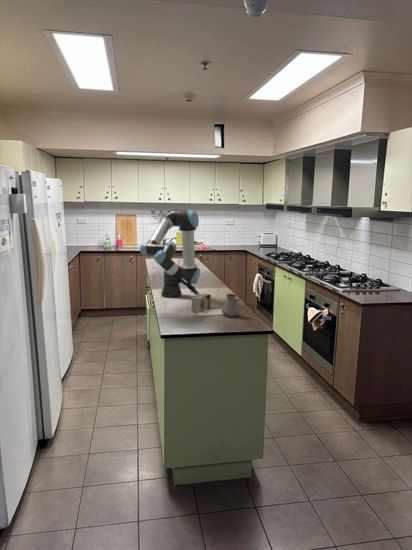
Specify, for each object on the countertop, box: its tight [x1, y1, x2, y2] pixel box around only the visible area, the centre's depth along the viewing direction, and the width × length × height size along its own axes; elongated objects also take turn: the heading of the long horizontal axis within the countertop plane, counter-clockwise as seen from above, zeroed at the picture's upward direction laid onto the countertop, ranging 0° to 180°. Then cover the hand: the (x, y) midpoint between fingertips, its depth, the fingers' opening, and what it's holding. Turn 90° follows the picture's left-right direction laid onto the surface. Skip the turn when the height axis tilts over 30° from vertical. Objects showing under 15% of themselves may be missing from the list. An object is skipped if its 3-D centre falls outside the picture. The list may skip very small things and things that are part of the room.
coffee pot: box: [221, 293, 241, 318], centre depth 244 cm, size 21×12×15 cm, turn 13°
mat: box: [196, 308, 225, 317], centre depth 255 cm, size 12×18×1 cm, turn 109°
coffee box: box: [191, 293, 212, 313], centre depth 261 cm, size 9×6×16 cm
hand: (199, 296), depth 251 cm, fingers closed
